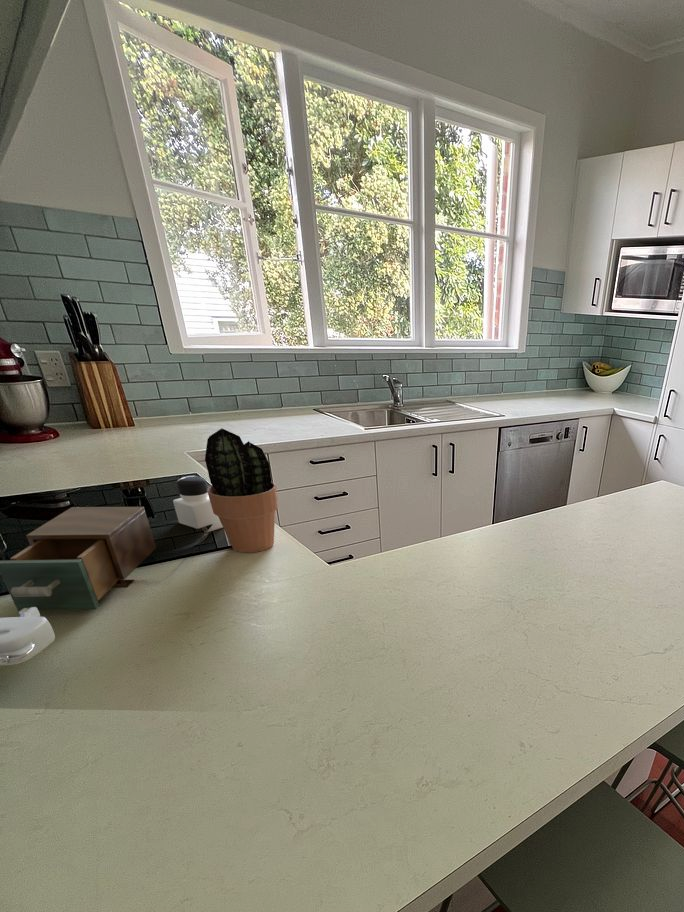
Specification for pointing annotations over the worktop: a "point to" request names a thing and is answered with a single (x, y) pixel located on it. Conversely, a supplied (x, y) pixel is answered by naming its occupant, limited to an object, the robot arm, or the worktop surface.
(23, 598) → the drawer
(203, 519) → the medicine bottle
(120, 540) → the cabinet
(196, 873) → the worktop surface
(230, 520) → the potted plant
